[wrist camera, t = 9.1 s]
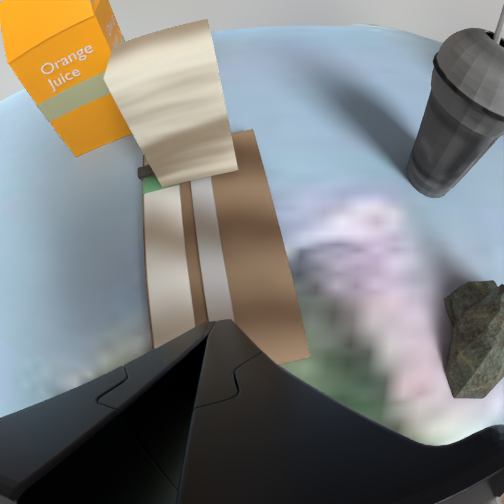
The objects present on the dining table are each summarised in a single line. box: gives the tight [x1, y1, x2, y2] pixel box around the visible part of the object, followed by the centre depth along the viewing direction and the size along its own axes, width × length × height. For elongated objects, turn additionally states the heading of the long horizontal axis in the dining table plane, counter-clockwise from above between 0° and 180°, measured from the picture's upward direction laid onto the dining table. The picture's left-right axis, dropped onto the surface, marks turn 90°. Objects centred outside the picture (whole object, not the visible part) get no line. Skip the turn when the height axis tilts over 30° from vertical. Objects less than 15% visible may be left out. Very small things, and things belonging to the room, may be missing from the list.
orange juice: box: [0, 0, 132, 157], centre depth 21 cm, size 8×9×20 cm
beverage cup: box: [407, 6, 504, 198], centre depth 15 cm, size 7×7×20 cm
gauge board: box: [143, 129, 310, 365], centre depth 23 cm, size 19×10×2 cm, turn 11°
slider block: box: [103, 19, 238, 188], centre depth 19 cm, size 4×8×11 cm, turn 101°
